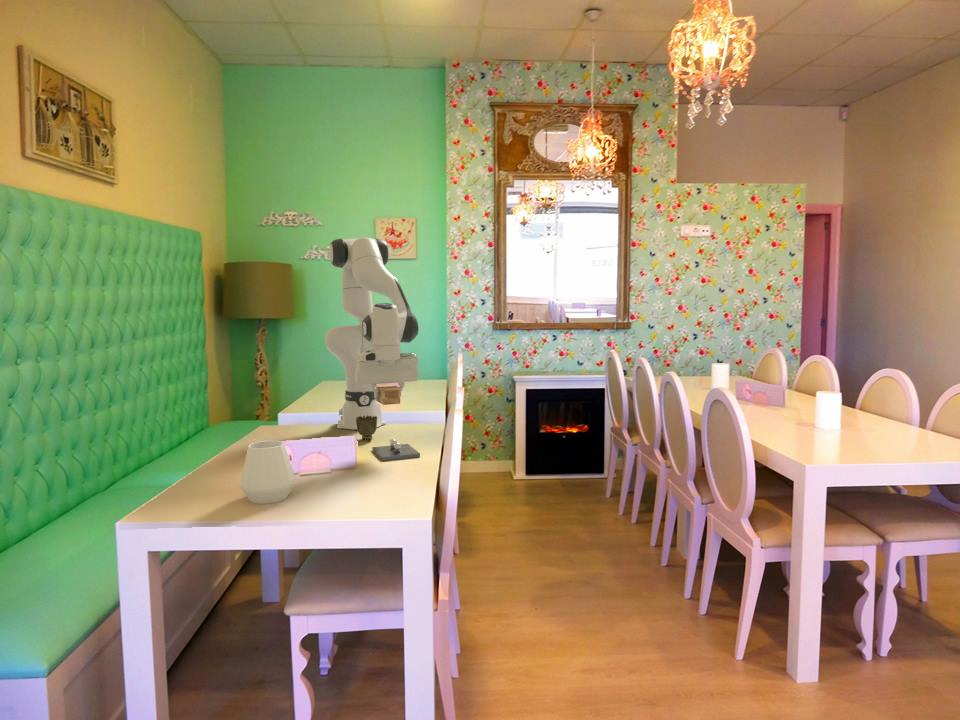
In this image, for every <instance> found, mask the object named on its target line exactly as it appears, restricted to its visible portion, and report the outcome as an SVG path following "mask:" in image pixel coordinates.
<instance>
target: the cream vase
mask: <svg viewBox="0 0 960 720" xmlns="http://www.w3.org/2000/svg"><path fill="white" fill-rule="evenodd" d="M295 483H296V476H295V473H294V469H293V466H292V463H291V460H290V457H289V453H288V450H287V447H286V444H285V442H283V441H281V440H273V439H272V440H271V439H270V440H261V441H255V442H252V443H250V444H248V446H247V450H246V455H245V459H244V464H243V468H242V473H241V478H240V482H239V487H240V489H241V490H242V492H243V494H244V495H245V497H247V499H248V500H249V501H250V502H251V503H254V504H259V505H260V504H261V505H262V504H263V505H265V504H266V505H267V504H273V503H277V502H281V501H284V500H286V499H287V498H288V496H289V495H290V494H291V491H292V489H293V488H294V486H295Z"/></svg>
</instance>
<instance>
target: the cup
mask: <svg viewBox="0 0 960 720" xmlns="http://www.w3.org/2000/svg"><path fill="white" fill-rule="evenodd" d="M356 423H357V429H356V430H357V433H359V435H360V436H361V439H362V440H363V441H370V440H372V439H373V435H374V434H375V432H376V430H377V427H376V426H377V416H375V417H374V416H373V417H371V416H368V415H367V416H366V418H365V416H363V417H361V416H359V417H357V419H356Z"/></svg>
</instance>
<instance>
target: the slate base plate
mask: <svg viewBox="0 0 960 720" xmlns="http://www.w3.org/2000/svg"><path fill="white" fill-rule="evenodd" d="M389 441H390V442H389V445H382V446H381V445H380V446H373V447H372V448H371V451H372V452H373V453H374V455H376V456H377V458H379V459H380V460H381V461H382V462H387V461H388V462H389V461H396V460H405V459H406V460H407V459H414V458H421V453H420V452H419V451H418V450H417V449H415V448H414V447H412V446H411V445H410V444H409V443H401V442H398V441H397V439H390V440H389Z"/></svg>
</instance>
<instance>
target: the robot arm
mask: <svg viewBox="0 0 960 720" xmlns="http://www.w3.org/2000/svg"><path fill="white" fill-rule="evenodd" d="M328 258H329V261H330V263H331V265H333V267H334V268H335V267H336V268H340V269H342V274H341V275H342V276H341V294H342V296H341V297H342V308H343V310H344V312H345V313H346V314H347V315H349V316H351V317H354V318H356V319H357V320H358V322H359V325H340V326H336V327H332V328H331V327H330V328H329V330H327V332H326V334H325V337H324V344H325V347H326V350H328V352H329V353H330V354H332V355H333V356H335V357H336V359H338V360H339V362H340V363H341V365H342V367H343V371H344V376H345V386H346V387H345V393H344V399H345V401H344V403H343V406H342V408H339V409H338V416H340V418H338V419H337V426H336V428H337V429H344V430H345V429H346V430H358V429H357V423H356V419H357V417H359V416H361V417H363V416H365V418H366V416H367V415H368V416H371V417H373V416H374V417H375V416H377V426H376V428H378V427H381V426H383V425H387V421H386V420H384V419H383V417H382V416H383V414H382V404H381V403H379V402H377V401H376V398H380V392H377V391H376V386H377V385H378V384H379V385H381V384H393V383H396V384H397V383H398V385H399V386H398V387H399V388H400V397H402V391H403V389H404V387H405V383H409V382H417V381H418V380H419V378H420V376H419V369H418V365H419V357H418V356H417V354H415V353H414V352H409V353H406V352H405V353H401V343H403V344H404V343H408V344H409V343H411V342H413V341H414V340H415V338H416V337H417V336H418V334H419V322H418V319H417V317H416V315H415V314H414V313H413V311H412V308H411V307H410V305H409V303H408V300H407V297H406V295H405V293H404V291H403V289H402V286H401V284H400V282H399V281H398V279H397V277H395V276H394V275H392V273H390V272H389V270H388V269H387V268H386V267H385V266H386V264H387V263H388V261H389V258H390V249H389V245H388V243H387V242H386V241H385V240H383V239H381V238H370V237H364V236H363V237H358V238H337V239H334V240H332V242H330V243H329V248H328ZM372 293H377V294H380V295H382V296H384V297H387V298H388V299H389V300H390V301H391V303H388V302H382V303H381V302H380V303H375V304H374V303H373V294H372Z"/></svg>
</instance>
